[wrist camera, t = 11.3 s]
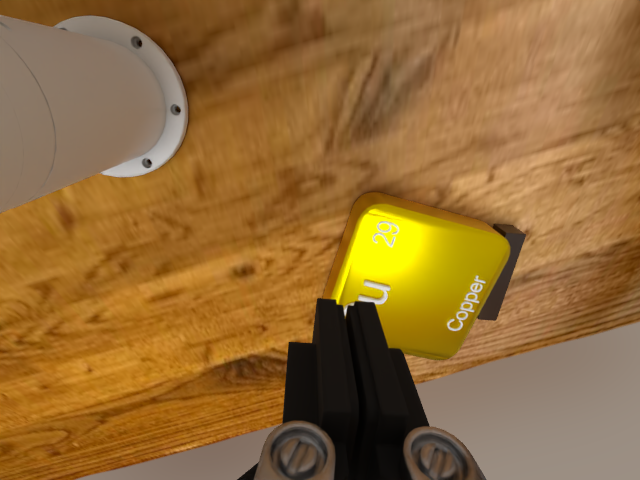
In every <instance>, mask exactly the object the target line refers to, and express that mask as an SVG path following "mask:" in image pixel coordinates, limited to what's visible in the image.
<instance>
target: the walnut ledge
mask: <svg viewBox="0 0 640 480" xmlns="http://www.w3.org/2000/svg"><path fill="white" fill-rule="evenodd" d="M493 229H494V230H496V231H497V232H498V233H499V234H501V235H502V236H503V237H504V238H506V239H507V240H508V242H509V245H510V255H509V258H508V261H507V263H506V265H505V266H504V268H503V270H502V272H501V274H500V276H499V277H498V279H497V281H496V283H495V285H494V287H493V289H492V290H491V292H490V294H489V296H488V298H487V300H486V302H485V303H484V305H483V307H482V309H481V311H480V313H479V315H478V316H477V318H478V319H481V320H496V319H497V316H498V313H499V311H500V308H501V305H502V302H503V299H504V296H505V293H506V291H507V288H508V285H509V282H510V279H511V276H512V273H513V271H514V268H515V265H516V262H517V259H518V256H519V253H520V251H521V248H522V245H523V242H524V239H525V236H526V234H524V233H523V232H522V231H520V230H519V229H517V228H516V227H514V226H513V225H501V224H494V226H493Z"/></svg>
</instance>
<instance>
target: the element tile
mask: <svg viewBox="0 0 640 480" xmlns="http://www.w3.org/2000/svg"><path fill="white" fill-rule="evenodd" d="M509 255H510V245H509V242H508V240H507V239H506V238H504V237H503V236H502V235H501V234H499V233H498V232H497V231H496V230H494V229H493V228H492V227H490V226H489V225H488V224H486V223H485V222H483V221H481V220H477V219H474V218H470V217H467V216H463V215H459V214H456V213H452V212H449V211H445V210H441V209H438V208H434V207H430V206H427V205H423V204H420V203H416V202H412V201H409V200H405V199H401V198H398V197H394V196H391V195H387V194H383V193H380V192H371V193H366V194H364V195H362V196H360V197H359V198H358V200H357V201H356V202H355V203H354V205H353V207H352V210H351V213H350V216H349V219H348V222H347V225H346V228H345V231H344V234H343V237H342V240H341V243H340V246H339V249H338V252H337V255H336V258H335V261H334V264H333V267H332V270H331V273H330V276H329V279H328V282H327V285H326V288H325V291H324V294H323V297H322V299H336V302H337V305H343V308H344V314H345V318H346V312H347V307H348V305H352V306H354V303H355V301H365V302H374V303H375V306H376V309H377V312H378V315H379V319H380V322H381V325H382V328H383V331H384V335H385V338H386V341H387V344H388V347H389V348H399V349H401V350H402V352H403V354H408V355H413V356H417V357H422V358H427V359H432V360H446V359H449V358H451V357H452V356H454V355H455V354H456V353H457V352H458V351H459V349H460V348H461V346H462V344H463V342H464V340H465V339H466V337H467V335H468V333H469V331H470V329H471V328H472V326H473V324H474V322H475V320H476V318H477V316H478V315H479V313H480V311H481V309H482V307H483V305H484V303H485V302H486V300H487V298H488V296H489V294H490V292H491V290H492V289H493V287H494V285H495V283H496V281H497V279H498V277H499V276H500V274H501V272H502V270H503V268H504V266H505V265H506V263H507V261H508V258H509Z"/></svg>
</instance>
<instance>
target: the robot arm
mask: <svg viewBox="0 0 640 480" xmlns="http://www.w3.org/2000/svg"><path fill="white" fill-rule="evenodd" d="M140 40H141V41H142V47H140V46H139V44H138V42H139V41H140ZM177 106H178V107H180V109H181V112H180V113H179V112H177V110H176V107H177ZM187 124H188V103H187V97H186V92H185V89H184V86H183V83H182V81H181V78H180V76H179V74H178V72H177V70H176V68H175V67H174V65H173V63H172V61H171V60H170V59H169V58H168V56H167V55H166V54H165V53H164V51H163V50H162V49H161V48H160V47H159V46H158V45H157V44H156V43H155V42H154V41H153V40H151V39H150V38H149V37H148V36H146V35H145V34H143V33H142V32H140V31H139V30H137V29H136V28H134V27H132V26H129V25H127V24H125V23H122V22H120V21H117V20H113V19H110V18H107V17H100V16H91V15H89V16H79V17H73V18H70V19H67V20H65V21H62V22H60V23H58V24H57V25H55V26H54V27H50V26H45V25H41V24H37V23H33V22H28V21H24V20H20V19H16V18H12V17H7V16H3V15H0V213H2V212H4V211H7V210H9V209H12V208H15V207H18V206H20V205H23V204H25V203H28V202H30V201H32V200H35V199H37V198H40V197H42V196H45V195H47V194H50V193H52V192H54V191H57V190H59V189H62V188H64V187H67V186H69V185H71V184H74V183H76V182H79V181H81V180H84V179H86V178H89V177H91V176H93V175H96V174H98V173H101V174H103V175H109V176H114V177H134V176H139V175H144V174H146V173H149V172H151V171H153V170H156V169H157V168H159V167H161V166H162V165H164V164H165V163H166V162H167V161H169V160H170V159H171V158H172V157H173V156H174V154H175V153H176V152H177V150H178V149H179V147H180V146H181V143H182V141H183V139H184V136H185V134H186V129H187ZM149 159H150V160H151V162H152V164H150V163H149V161H148V160H149ZM238 480H486V478H485V476H484V475H483V473H482V471H481V470H480V468H479V467H478V465H477V463H476V461H475V460H474V458H473V456H472V455H471V453H470V452H469V450H468V449H467V448H466V446H465V445H464V444H463V443H462V442H461V441H460V440H458V439H457V438H456V437H455V436H454V435H452V434H450V433H448V432H446V431H444V430H442V429H439V428H436V427H430V426H429V423H428V421H427V418H426V415H425V412H424V410H423V407H422V404H421V401H420V398H419V396H418V393H417V390H416V387H415V384H414V382H413V379H412V376H411V373H410V370H409V368H408V365H407V362H406V359H405V357H404V354H403V352H402V350H401V349H399V348H389V347H388V344H387V341H386V338H385V335H384V331H383V328H382V325H381V322H380V319H379V315H378V312H377V309H376V306H375V303H374V302H365V301H355V303H354V306H352V305H348V307H347V312H346V318H345V314H344V308H343V305H337V302H336V299H321V298H318V299H317V305H316V313H315V322H314V331H313V340H312V343H299V342H289V347H288V359H287V371H286V384H285V397H284V410H283V424H282V425H280V426H278V427H276V428H275V429H274V430H273V431H272V432H271V433H270V434H269V435H268V437H267V439H266V441H265V444H264V446H263V450H262V453H261V456H260V460H259V462H258V463H257V464H256V465H255V466H253V467H252V468H251V469H250V470H249V471H247V472H246V473H245V474H244V475H242V476H241V477H240V478H239V479H238Z"/></svg>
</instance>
